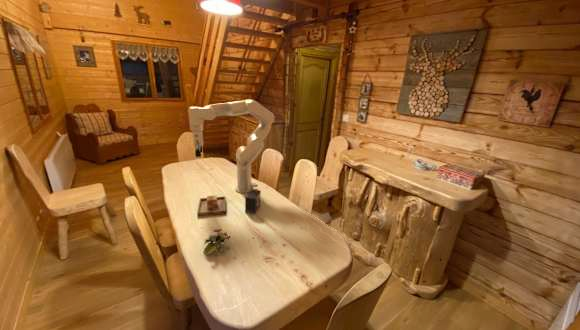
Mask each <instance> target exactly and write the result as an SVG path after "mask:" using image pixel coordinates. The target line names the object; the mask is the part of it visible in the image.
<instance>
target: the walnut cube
mask: <svg viewBox="0 0 580 330" xmlns="http://www.w3.org/2000/svg"><path fill="white" fill-rule="evenodd" d="M217 197H218V196H217V195H216V194H215V195H206V198H207V209H209V208H217Z"/></svg>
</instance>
